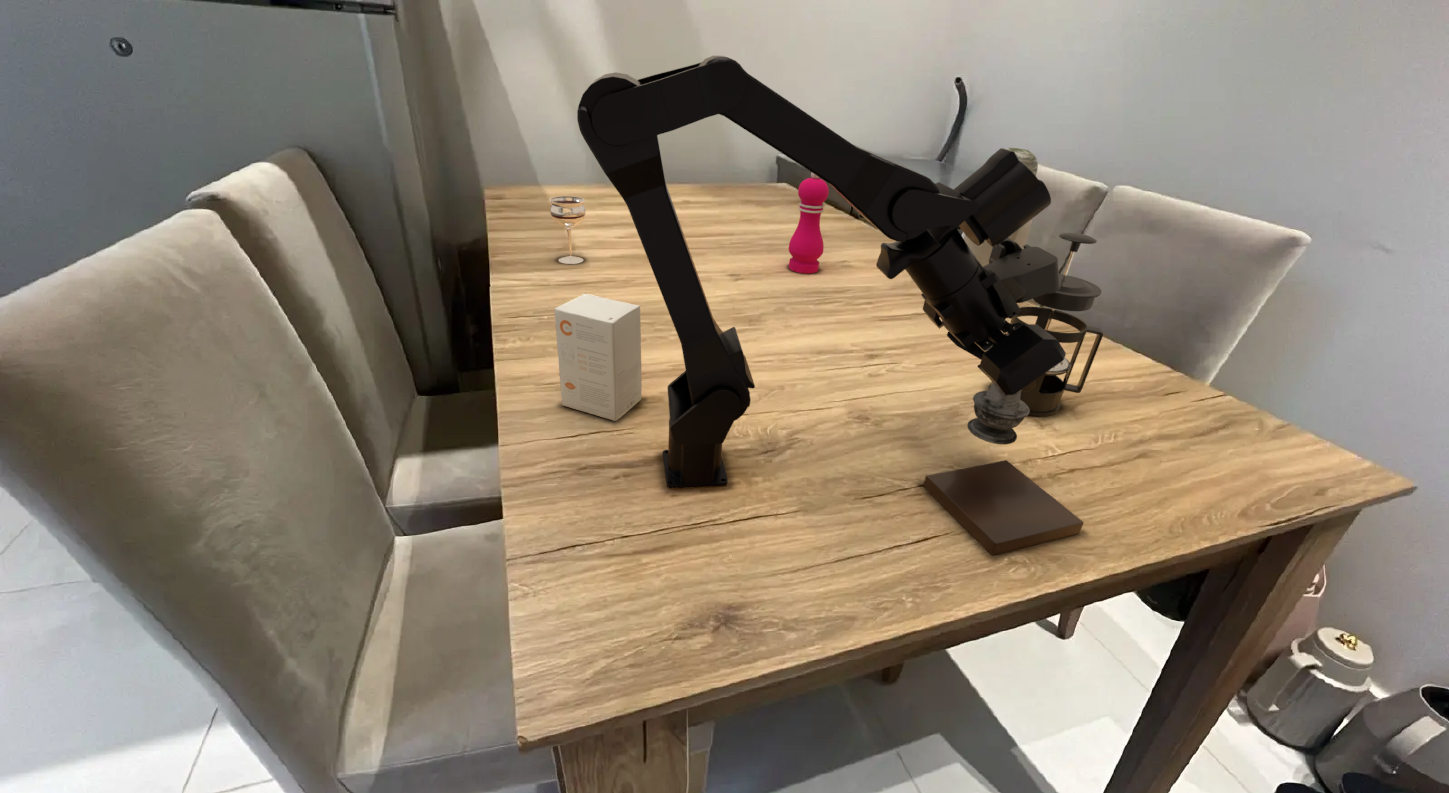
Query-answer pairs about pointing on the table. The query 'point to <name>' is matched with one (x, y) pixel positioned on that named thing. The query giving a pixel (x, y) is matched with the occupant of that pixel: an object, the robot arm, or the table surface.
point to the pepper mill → (808, 226)
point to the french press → (1068, 298)
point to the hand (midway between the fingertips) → (1021, 380)
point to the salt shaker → (997, 415)
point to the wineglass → (568, 219)
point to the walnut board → (1002, 506)
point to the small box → (599, 355)
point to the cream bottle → (1022, 233)
